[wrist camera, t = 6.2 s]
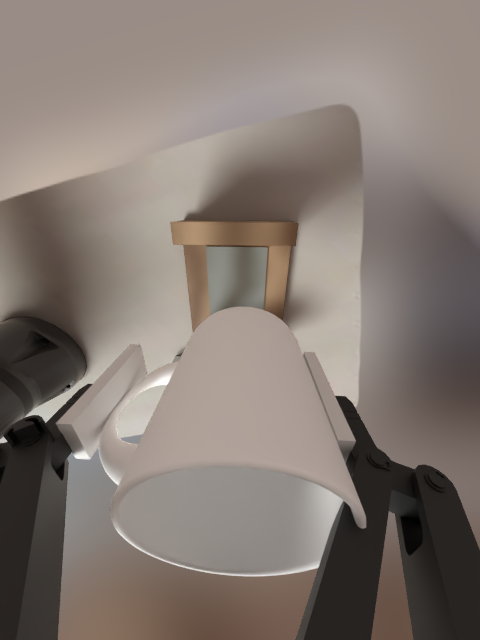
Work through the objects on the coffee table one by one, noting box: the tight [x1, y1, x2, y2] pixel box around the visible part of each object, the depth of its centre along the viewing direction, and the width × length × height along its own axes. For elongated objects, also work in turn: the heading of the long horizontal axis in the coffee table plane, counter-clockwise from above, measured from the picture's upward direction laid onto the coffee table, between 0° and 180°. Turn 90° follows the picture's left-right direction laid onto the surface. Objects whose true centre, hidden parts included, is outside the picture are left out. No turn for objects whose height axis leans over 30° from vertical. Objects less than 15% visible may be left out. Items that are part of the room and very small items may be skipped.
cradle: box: [170, 220, 298, 332], centre depth 27 cm, size 14×18×8 cm
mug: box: [99, 307, 366, 576], centre depth 12 cm, size 9×12×11 cm
